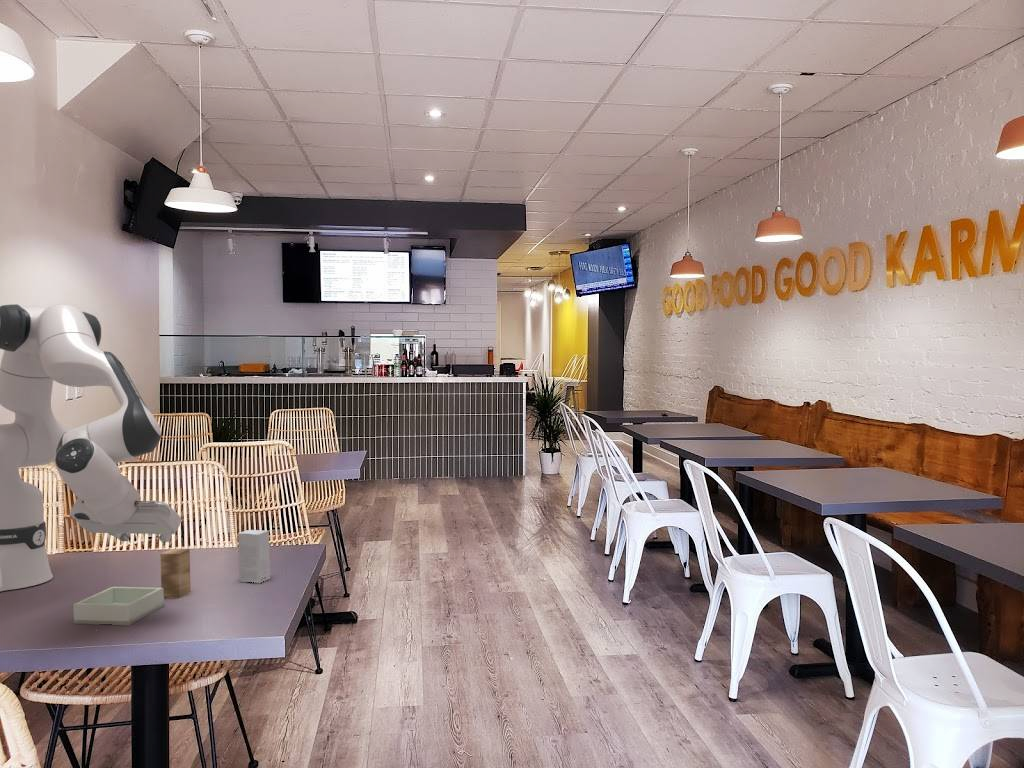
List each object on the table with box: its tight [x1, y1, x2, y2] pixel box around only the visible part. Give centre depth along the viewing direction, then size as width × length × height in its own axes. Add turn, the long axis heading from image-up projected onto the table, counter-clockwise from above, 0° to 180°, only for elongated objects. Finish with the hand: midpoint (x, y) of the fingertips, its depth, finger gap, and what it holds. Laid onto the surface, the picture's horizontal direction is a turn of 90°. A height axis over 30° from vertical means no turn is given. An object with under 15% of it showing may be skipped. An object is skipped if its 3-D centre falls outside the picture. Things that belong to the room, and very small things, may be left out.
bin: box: [73, 586, 165, 626], centre depth 156 cm, size 12×12×4 cm
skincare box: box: [237, 529, 271, 584], centre depth 179 cm, size 6×4×12 cm
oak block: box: [160, 548, 192, 599], centre depth 169 cm, size 4×4×10 cm
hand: (146, 538), depth 159 cm, fingers open, 8 cm apart
